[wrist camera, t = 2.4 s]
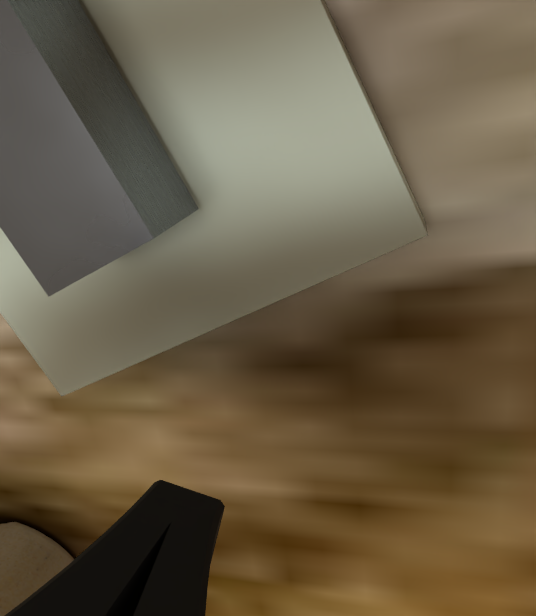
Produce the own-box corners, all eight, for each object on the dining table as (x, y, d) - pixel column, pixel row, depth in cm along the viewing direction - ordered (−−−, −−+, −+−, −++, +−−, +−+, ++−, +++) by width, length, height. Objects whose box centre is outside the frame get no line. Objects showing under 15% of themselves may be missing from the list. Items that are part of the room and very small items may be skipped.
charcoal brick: (198, 209, 12) (153, 238, 10) (107, 259, 14) (48, 296, 11) (-37, -197, 10) (-165, -280, 8) (-123, -96, 11) (-257, -142, 9)
